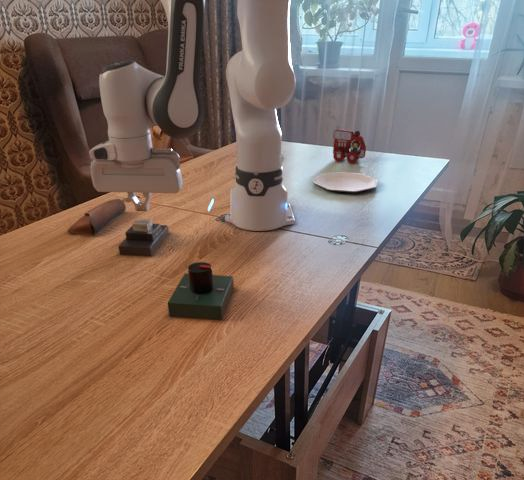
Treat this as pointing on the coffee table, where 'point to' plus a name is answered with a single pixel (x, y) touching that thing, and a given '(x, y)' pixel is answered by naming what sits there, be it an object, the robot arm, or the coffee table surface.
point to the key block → (143, 241)
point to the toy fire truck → (348, 146)
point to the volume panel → (201, 299)
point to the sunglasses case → (97, 218)
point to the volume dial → (200, 277)
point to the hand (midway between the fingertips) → (142, 210)
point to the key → (142, 225)
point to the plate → (345, 182)
